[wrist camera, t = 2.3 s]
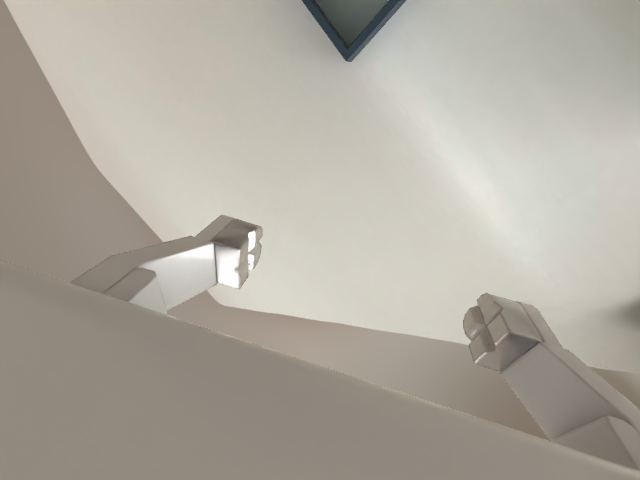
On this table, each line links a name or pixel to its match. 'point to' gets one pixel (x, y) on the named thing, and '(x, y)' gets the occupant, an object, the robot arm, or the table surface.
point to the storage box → (364, 37)
